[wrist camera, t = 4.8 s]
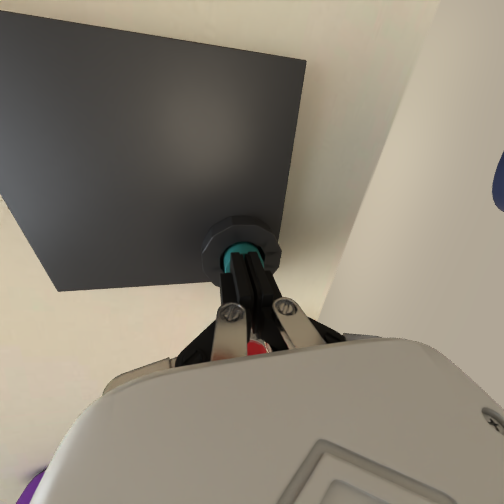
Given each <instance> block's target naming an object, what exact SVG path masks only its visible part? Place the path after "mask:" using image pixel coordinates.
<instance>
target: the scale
mask: <svg viewBox="0 0 504 504" xmlns="http://www.w3.org/2000/svg"><path fill="white" fill-rule="evenodd" d="M306 62H307V61H306V60H301V59H295V58H289V57H283V56H277V55H271V54H265V53H259V52H253V51H246V50H240V49H234V48H228V47H222V46H216V45H210V44H204V43H197V42H191V41H185V40H179V39H173V38H167V37H161V36H155V35H148V34H142V33H136V32H130V31H124V30H118V29H112V28H106V27H99V26H93V25H87V24H81V23H75V22H69V21H63V20H57V19H50V18H44V17H38V16H32V15H26V14H20V13H14V12H8V11H1V10H0V194H1V196H2V198H3V199H4V201H5V203H6V204H7V206H8V208H9V210H10V211H11V213H12V215H13V216H14V218H15V220H16V221H17V223H18V225H19V227H20V228H21V230H22V232H23V233H24V235H25V237H26V238H27V240H28V242H29V243H30V245H31V247H32V249H33V250H34V252H35V254H36V255H37V257H38V259H39V260H40V262H41V264H42V266H43V267H44V269H45V271H46V272H47V274H48V276H49V277H50V279H51V281H52V283H53V284H54V286H55V288H56V289H57V291H58V292H61V291H77V290H92V289H108V288H123V287H139V286H154V285H169V284H185V283H200V282H212V283H213V284H214V285H215V286H218V287H220V273H225V267H224V253H225V251H226V250H227V248H228V247H229V246H231V245H232V244H234V243H237V242H249V243H252V244H253V245H255V246H256V247H257V249H258V250H259V253H260V255H261V258H262V260H263V263H264V270H270V271H271V273H272V275H273V274H274V273H275V271H276V270H277V269H278V268H279V264H280V258H281V252H282V251H281V248H280V246H279V244H278V239H279V233H280V227H281V220H282V214H283V208H284V201H285V195H286V189H287V182H288V176H289V170H290V163H291V157H292V151H293V144H294V138H295V132H296V125H297V119H298V113H299V106H300V100H301V94H302V87H303V81H304V75H305V68H306Z"/></svg>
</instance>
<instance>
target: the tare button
mask: <svg viewBox="0 0 504 504" xmlns="http://www.w3.org/2000/svg"><path fill="white" fill-rule="evenodd" d="M253 251H257V253H258V256H259V258H260V261H261V263H262V265H263V268H264V263H263V260H262V258H261V255H260V253H259V250H258V249H257V247H256V246H255V245H253V244H252V243H249V242H237V243H234V244H232V245H231V246H229V247H228V248H227V250H226V251H225V253H224V267H225V273H230V253H231V252H239V253H240V254H243V257H244V258H245V254H248V252H253Z"/></svg>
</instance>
